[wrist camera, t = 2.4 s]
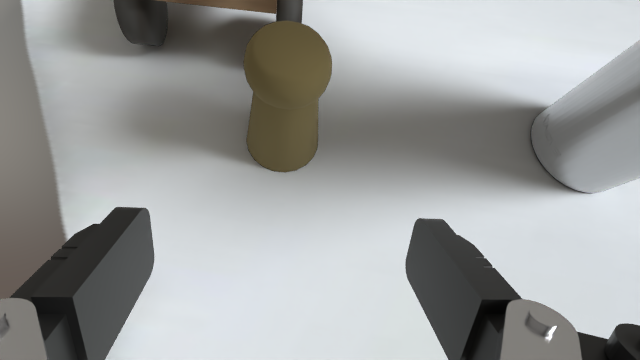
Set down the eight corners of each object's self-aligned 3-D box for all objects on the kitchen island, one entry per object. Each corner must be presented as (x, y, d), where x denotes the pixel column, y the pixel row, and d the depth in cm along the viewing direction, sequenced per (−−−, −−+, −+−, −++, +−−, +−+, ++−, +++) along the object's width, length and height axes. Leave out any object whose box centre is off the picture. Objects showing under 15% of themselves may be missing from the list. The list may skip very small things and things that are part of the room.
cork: (294, 185, 27) (308, 110, 17) (231, 147, 28) (209, 52, 18) (330, 131, 30) (362, 36, 19) (272, 97, 30) (273, -13, 20)
